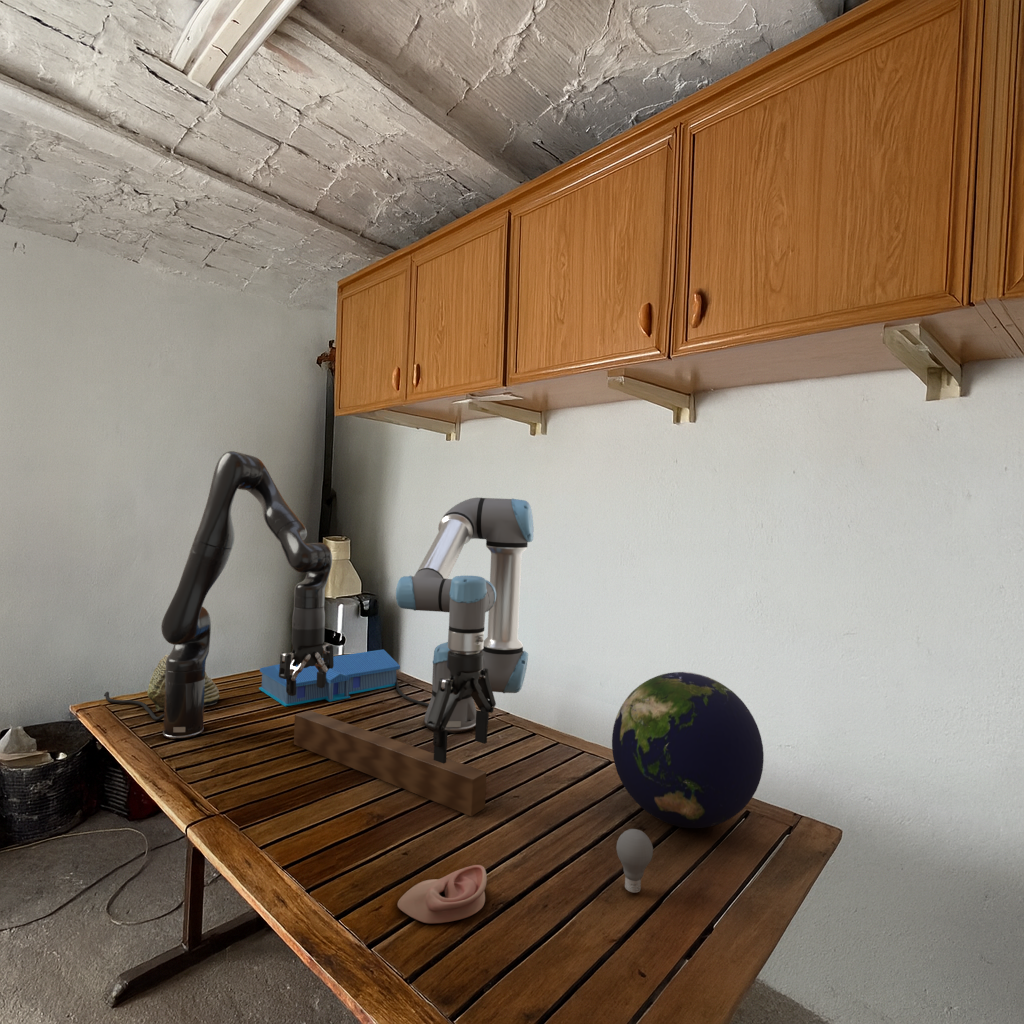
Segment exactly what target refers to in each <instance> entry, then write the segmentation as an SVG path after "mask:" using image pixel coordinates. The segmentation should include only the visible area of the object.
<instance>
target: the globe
mask: <svg viewBox="0 0 1024 1024" xmlns="http://www.w3.org/2000/svg"><path fill="white" fill-rule="evenodd" d="M611 749H612V750H611V751H612V757H613V762H614V767H615V769H616V772H617V776H618V777H619V780H620V782H621V783H622V785H623V787H624V789H625V790H626V792H627V793H628V795H629V796H630V797H631V798H632V800H633V801H634V802H635V803H636V804H637V805H638V806H639V807H641V809H643V810H644V811H645V812H646V813H648V814H649V815H651V816H652V817H654V818H655V819H656V820H657V819H658V820H659V821H661V822H664V823H666V824H668V825H671V826H674V827H678V828H684V829H706V828H710V827H714V826H717V825H720V824H723V823H725V822H727V821H728V820H729V821H730V819H733V817H735V816H737V815H738V814H739V813H740V812H742V810H744V809H745V807H746V806H747V805H748V804H749V802H750V801H751V800H752V798H753V797H754V795H755V793H756V792H757V789H758V787H759V786H760V782H761V779H762V775H763V771H764V762H765V760H764V758H765V756H764V755H765V754H764V745H763V739H762V735H761V732H760V729H759V726H758V723H757V722H756V720H755V718H754V716H753V714H752V713H751V711H750V709H749V708H748V707H747V704H745V702H744V701H743V699H741V698H740V697H739V696H738V695H737V693H735V692H734V691H733V690H731V689H730V688H729V687H727V686H726V685H724V684H723V683H722V682H720V681H717V680H716V679H714V678H711V677H709V676H707V675H703V674H699V673H695V672H690V671H674V672H667V673H662V674H659V675H656V676H654V677H652V678H649V679H647V680H646V681H644V682H643V683H641V684H639V685H638V686H637V687H636V688H635V689H633V690H632V691H631V692H630V693H629V695H628V696H627V697H626V698H625V699H624V701H623V703H622V704H621V706H620V708H619V710H618V712H617V713H616V717H615V720H614V723H613V728H612V735H611Z"/></svg>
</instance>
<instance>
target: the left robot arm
mask: <svg viewBox="0 0 1024 1024" xmlns="http://www.w3.org/2000/svg"><path fill="white" fill-rule="evenodd" d="M238 490H241V491H247V492H248V493H250V495H252V496H253V497H254V498H255V499H256V500H257V501H258V503H259V504H260V506H261V509H262V515H263V521H264V523H265V524H266V527H267V528H268V529H269V531H270V532H271V533H272V534H273V537H274V538H276V540H277V541H278V542H279V544H280V546H281V550H282V552H283V555H284V557H285V560H286V562H287V564H288V565H289V567H290V568H291V569H292V570H293V571H295V572H296V573H300V574H306V575H305V578H304V579H303V580H301V581H300V582H298V583H297V584H296V585H295V586H294V594H293V598H294V599H293V611H292V618H291V620H292V621H291V622H292V623H291V625H292V626H291V627H292V628H291V645H292V651H291V652H283V651H282V652H281V654H280V656H279V657H280V658H279V664H280V667H279V677H280V678H283V679H286V692H287V693H288V695H290V696H294V695H296V680H295V679H296V677H297V676H298V674H299V673H300V672H301V671H302V670H303V668H307V667H309V666H315V667H316V668H317V670H318V671H319V672H317V687H319V688H324V687H325V684H326V672H327V671H328V670H329V669H330V668H331V669H332V668H333V666H334V661H333V657H334V645H332V644H329V643H325V626H326V613H325V595H326V594H325V591H326V586H327V584H328V580H329V576H330V573H331V570H332V566H333V553H332V550H331V549H330V547H329V546H328V545H327V544H326V543H323V542H309V543H308V542H307V543H306V542H305V539H306V538H307V536H308V531H307V528H306V526H305V524H303V522H302V521H301V520H300V519H299V517H298V516H297V515H296V513H294V511H293V509H291V507H290V506H289V504H288V503H287V502H286V500H285V499H284V498H283V496H282V494H281V492H280V490H279V488H278V487H277V485H276V483H275V482H274V480H273V478H272V477H271V474H270V473H269V471H268V469H267V467H266V466H265V464H264V463H263V461H262V460H261V459H260V458H259V457H257V456H254V455H251V454H247V453H242V452H238V451H234V450H229V451H226V452H225V453H222V455H221V456H220V458H219V459H218V460H217V463H216V465H215V468H214V471H213V475H212V479H211V483H210V488H209V492H208V496H207V500H206V504H205V507H204V510H203V513H202V517H201V519H200V523H199V526H198V528H197V531H196V533H195V535H194V539H193V542H192V545H191V546H190V550H189V554H188V556H187V559H186V561H185V562H186V563H185V565H184V568H183V571H182V573H181V576H180V580H179V583H178V586H177V588H176V591H175V592H174V595H173V597H172V599H171V601H170V603H169V604H168V608H167V609H166V610H165V611H166V612H165V614H164V615H163V618H162V620H161V627H160V629H161V630H160V631H161V634H162V636H163V637H162V638H163V639H164V640H165V641H166V642H167V643H169V644H171V645H173V647H172V649H171V651H170V653H169V654H168V655H169V656H168V657H167V659H166V674H165V705H164V710H163V713H162V714H160V715H159V716H157V715H156V714H155V713H154V711H153V710H152V709H151V708H150V707H149V706H148V704H146V703H145V702H143V701H140V700H133V699H113V698H111V697H110V692H109V691H105V693H104V695H103V697H105V700H106V701H107V702H109V703H111V704H125V705H126V704H127V705H129V704H130V705H137V706H140V707H142V708H143V709H144V710H145V711H146V712H147V713H148V715H149V716H150V717H151V719H152V720H154V721H157V722H159V721H161V720H162V719H163V731H162V737H164V738H166V739H169V740H185V739H190V738H191V739H192V738H194V737H197V736H199V735H202V734H203V732H204V730H205V729H204V722H205V721H204V718H205V706H204V693H205V672H206V664H207V663H206V662H207V658H208V655H209V653H210V646H211V645H210V644H211V633H212V631H211V630H212V621H211V616H210V613H209V611H208V610H207V608H205V607H204V606H203V604H204V602H205V599H206V598H207V595H208V593H209V591H210V590H211V588H212V587H213V586H214V585H215V583H216V582H217V580H218V579H219V577H220V576H221V574H222V572H223V571H224V569H225V567H226V565H227V564H228V561H229V559H230V555H231V553H232V550H233V547H234V544H235V529H234V524H233V519H232V507H233V502H234V499H235V496H236V493H237V491H238ZM322 658H323V659H322ZM328 662H329V663H328ZM296 665H298V667H295V666H296Z"/></svg>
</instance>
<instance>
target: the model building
mask: <svg viewBox="0 0 1024 1024" xmlns="http://www.w3.org/2000/svg"><path fill="white" fill-rule="evenodd" d="M321 658H322V659H323V657H321ZM333 661H334V666H333V668H332V669H331V668H330V669H329V670H328V671H327V672H326V684H325V687H324V688H319V687H317V672H319V671H318V670H317V668H316V667H315V666H309V667H307V668H303V670H302V671H301V672H300V673H299V674H298V676H297V677H296V679H295V680H296V695H294V696H290V695H288V693H287V692H286V679H283V678H280V677H279V667H280V663H278V664H272V665H268V666H264V667H263V666H262V667H260V668H259V672H260V673H261V686H260V687H258V690H260V691H261V692H262V693H264V694H265V695H267V696H268V697H270V698H271V699H273V700H274V701H276V702H277V703H279V704H280V705H282V706H283V707H290V706H297V705H302V704H307V703H312V702H317V701H323V700H325V701H327V702H329V703H330V702H335V701H341V700H346V699H347V700H348V699H350V698H351V695H353V694H359V693H364V692H365V693H366V692H369V691H373V690H381V689H385V688H390V687H391V688H392V687H396V685H395V683H396V676H397V670H400V669H401V665H400V664H399V663H398V662H397V661H396V660H395V659H394V658H393V657H392V656H391V654H389V653H388V652H387V651H386V650H385V649H376V650H368V651H363V652H356V653H349V654H342V655H341V654H340V655H335V656H334V655H333ZM328 663H329V662H328ZM295 667H298V665H296V666H295Z"/></svg>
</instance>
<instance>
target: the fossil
mask: <svg viewBox="0 0 1024 1024" xmlns="http://www.w3.org/2000/svg"><path fill="white" fill-rule="evenodd" d="M169 655H170V654H165V655H164V656H163V657H162V658H161V659H160V660H159V662H158V663H157V666H156V667H155V669H154V670H153V672H152V675H151V677H150V680H149V684H148V688H147V697H148V699H149V700H150V701H152V703H153V704H154V706H155V711H158V712H159V711H162V712H163V711H164V705H165V674H166V659H167V657H168V656H169ZM220 698H221V696H220V690H219V688H218V686H217V685H216V683H215V682H214V681H213V679H212V678H211V677H209V675H208V674H207V672H206V671H205V693H204V707H207V706H213V705H215V704H217V703H218V701H219V699H220Z"/></svg>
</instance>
